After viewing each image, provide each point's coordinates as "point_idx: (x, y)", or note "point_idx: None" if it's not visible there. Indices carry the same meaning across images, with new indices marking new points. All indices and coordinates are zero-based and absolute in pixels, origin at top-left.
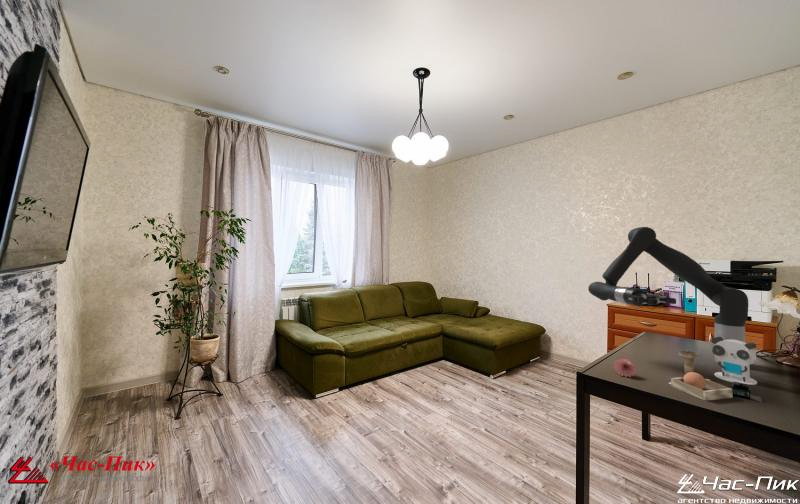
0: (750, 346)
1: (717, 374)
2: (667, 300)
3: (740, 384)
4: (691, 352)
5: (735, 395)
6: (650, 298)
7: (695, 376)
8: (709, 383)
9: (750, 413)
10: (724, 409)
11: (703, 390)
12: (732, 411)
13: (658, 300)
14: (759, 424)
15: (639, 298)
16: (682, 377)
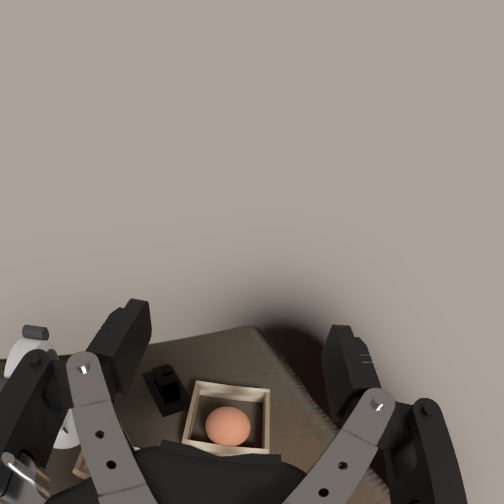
0: (46, 331)
1: (66, 442)
2: (126, 363)
3: (163, 376)
4: (82, 461)
5: (181, 391)
6: (359, 360)
7: (239, 412)
8: (192, 418)
9: (242, 358)
10: (269, 374)
11: (267, 393)
12: (264, 368)
13: (128, 437)
14: (270, 341)
15: (431, 410)
16: (233, 448)
